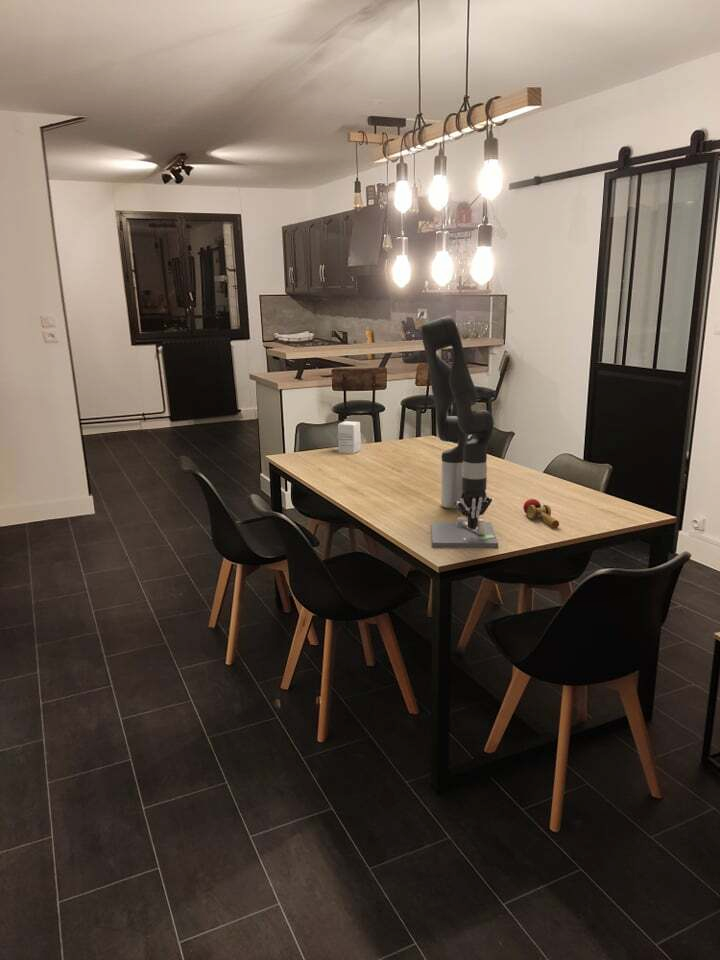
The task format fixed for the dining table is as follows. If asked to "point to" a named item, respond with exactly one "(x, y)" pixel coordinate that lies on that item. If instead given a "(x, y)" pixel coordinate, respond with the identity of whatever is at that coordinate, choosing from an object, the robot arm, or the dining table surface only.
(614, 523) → the dining table surface
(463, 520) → the pale grey bar
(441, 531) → the dial plate
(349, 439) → the supplement box
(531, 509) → the kendama
